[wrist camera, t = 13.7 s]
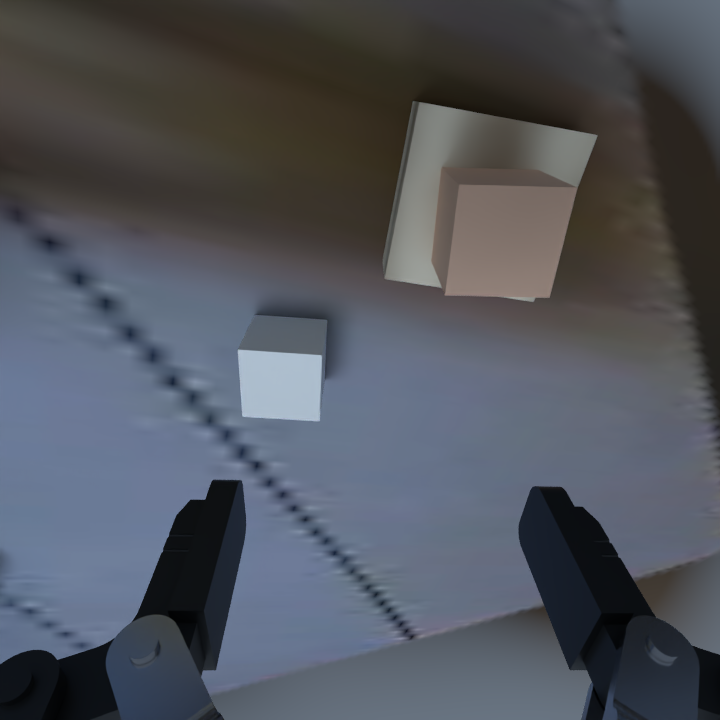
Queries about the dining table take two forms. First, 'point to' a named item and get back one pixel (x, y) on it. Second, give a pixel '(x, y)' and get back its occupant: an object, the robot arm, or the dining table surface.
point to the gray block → (465, 150)
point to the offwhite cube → (283, 368)
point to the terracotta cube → (499, 231)
